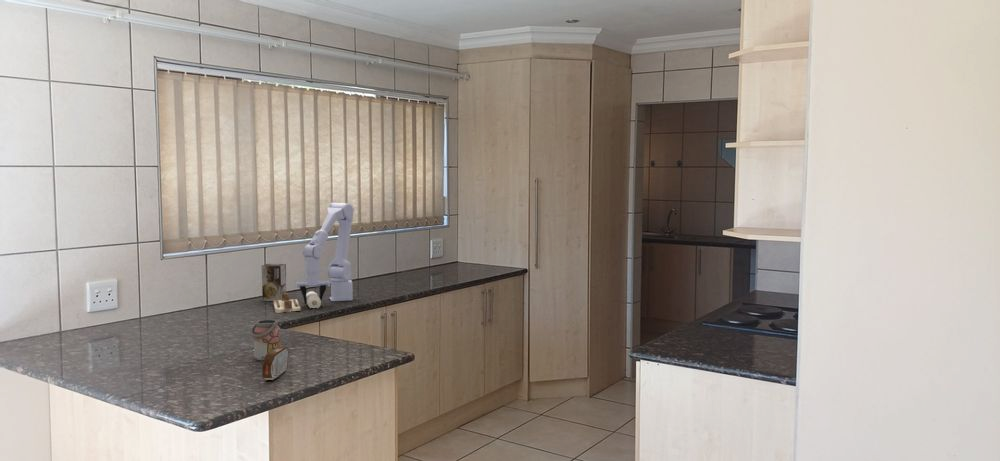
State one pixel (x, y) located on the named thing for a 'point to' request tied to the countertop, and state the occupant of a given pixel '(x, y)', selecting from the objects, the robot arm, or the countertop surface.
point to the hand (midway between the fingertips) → (312, 303)
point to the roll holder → (286, 304)
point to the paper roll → (313, 300)
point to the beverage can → (265, 337)
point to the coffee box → (273, 281)
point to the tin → (275, 361)
